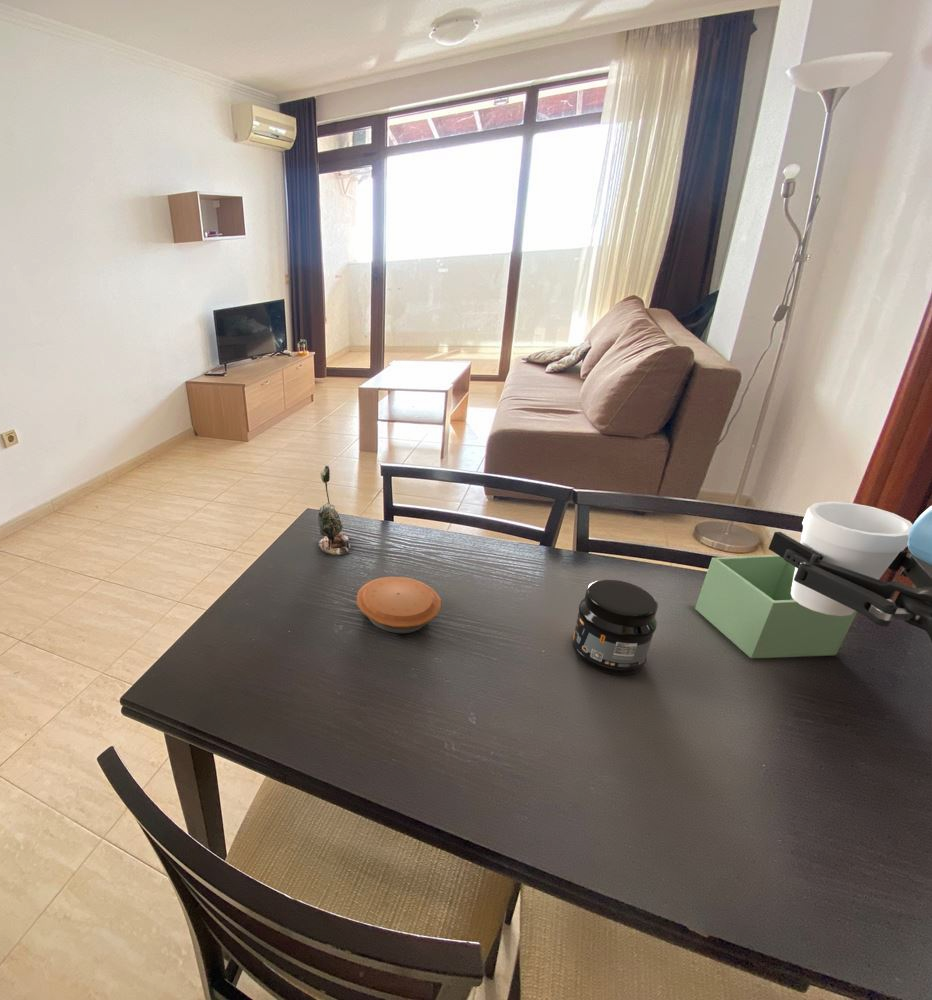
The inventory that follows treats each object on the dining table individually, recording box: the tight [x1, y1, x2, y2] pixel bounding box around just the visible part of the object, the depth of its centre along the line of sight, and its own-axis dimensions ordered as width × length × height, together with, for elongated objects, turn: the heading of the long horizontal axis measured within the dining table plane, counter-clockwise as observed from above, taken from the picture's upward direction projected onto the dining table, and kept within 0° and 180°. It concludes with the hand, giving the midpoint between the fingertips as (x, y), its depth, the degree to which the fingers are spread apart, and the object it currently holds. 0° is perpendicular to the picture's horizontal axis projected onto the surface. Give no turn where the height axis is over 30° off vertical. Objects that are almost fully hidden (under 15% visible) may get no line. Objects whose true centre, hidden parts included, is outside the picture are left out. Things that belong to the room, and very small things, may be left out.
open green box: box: [694, 554, 858, 659], centre depth 89 cm, size 13×13×11 cm
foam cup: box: [791, 500, 914, 616], centre depth 71 cm, size 10×9×13 cm
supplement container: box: [571, 579, 659, 676], centre depth 87 cm, size 10×10×12 cm
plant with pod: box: [317, 465, 352, 556], centre depth 123 cm, size 8×11×20 cm
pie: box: [356, 576, 442, 634], centre depth 102 cm, size 15×16×5 cm
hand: (812, 538), depth 74 cm, fingers closed on foam cup, 9 cm apart
